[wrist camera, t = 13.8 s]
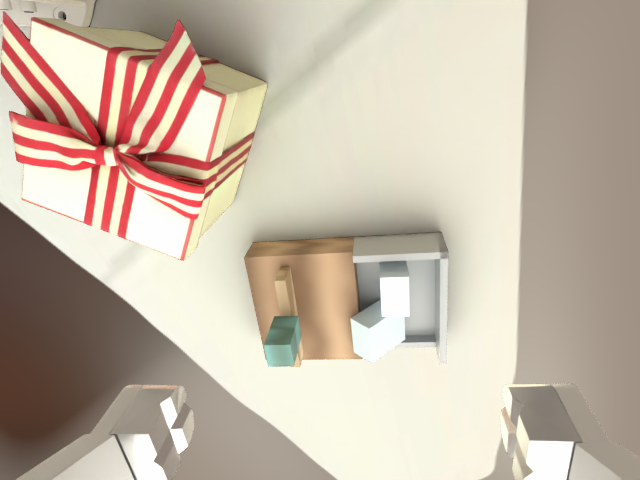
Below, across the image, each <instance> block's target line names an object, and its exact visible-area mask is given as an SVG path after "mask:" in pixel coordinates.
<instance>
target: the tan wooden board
mask: <svg viewBox="0 0 640 480" xmlns="http://www.w3.org/2000/svg"><path fill="white" fill-rule="evenodd" d="M353 247H354V237H343V238H326V239H308V240H290V241H272V242H254V243H253V244H252V245H251V247H250V249H249V250H248V252H247V254H246V255H245V257H244V260H245V264H246V269H247V274H248V278H249V283H250V288H251V292H252V297H253V302H254V306H255V311H256V316H257V320H258V325H259V330H260V334H261V339H262V344H263V348H264V343H265V340H266V337H267V335H268V332H269V329H270V326H271V323H272V321H273V318H274V316H281V314H280V308H279V303H278V298H277V292H276V287H275V278H276V276H277V274H278V271H279V269H280V267H290V269H291V275H292V281H293V287H294V293H295V299H296V306H297V312H298V317H299V323H300V329H301V335H302V342H303V348H304V352H303V356H302V360H311V359H363V358H362V357H360V356H359V355H357V354H356V353H354V349H353V339H352V329H351V319H350V318H352V317H353V316H355V315H357V314H358V313H360V312H361V310H360V299H359V288H358V276H357V265H356V263H353ZM264 353H265V349H264ZM265 358H266V354H265ZM266 360H267V359H266Z"/></svg>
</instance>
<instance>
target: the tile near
mask: <svg viewBox="0 0 640 480" xmlns="http://www.w3.org/2000/svg"><path fill="white" fill-rule="evenodd" d="M379 264H380V290H381V312H382V317H409V274H408V268H407V261H406V260H405V261H384V262H379Z"/></svg>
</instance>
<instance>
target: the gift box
mask: <svg viewBox="0 0 640 480" xmlns="http://www.w3.org/2000/svg"><path fill="white" fill-rule="evenodd" d="M1 74H2V76H3V77H4V79H5V80H6V82H7V83H8V84H9V86H10V87H11V88H12V90H13V91H14V92H15V94H16V95H17V96H18V97H19V99H20V100H21V101H22V102H23V104H24V105H25V106H26V116H24V115H20V114H18V113H15V112H13V111H9V116H10V121H11V127H12V133H13V139H14V146H15V154H16V160H17V161H18V162H20V163H23V164H24V165H23V183H22V200H24V201H27V202H29V203H32V204H35V205H37V206H40V207H43V208H46V209H48V210H51V211H54V212H56V213H59V214H61V215H64V216H67V217H69V218H72V219H75V220H77V221H80V222H83V223H85V224H87V225H90V226H93V227H96V228H98V229H101V230H103V231H106V232H109V233H111V234H114V235H116V236H119V237H121V238H124V239H127V240H130V241H133V242H135V243H138V244H140V245H143V246H146V247H148V248H151V249H154V250H156V251H159V252H161V253H164V254H166V255H169V256H172V257H174V258H177V259H180V260H183V261H185V260H186V259H187V258H188V257H189V256H190V255H191V254H192V252H193V251H194V250H195V249H196V248H197V246H198V242H199V238H200V237H201V236H202V235H203V234H204V233H205V232H206V231H207V230H208V228H209V227H210V226H211V225H212V224H213V223H214V222H215V221H216V220H217V219H218V218H219V217H220V216H221V215H222V214H223V213H224V212H225V210H226V209H227V208H228V207H229V206H230V205H231V204H232V203H233V201H234V198H235V195H236V192H237V189H238V185H239V182H240V179H241V175H242V172H243V168H244V165H245V162H246V160H247V157H248V154H249V151H250V148H251V144H252V140H253V136H254V132H255V128H256V125H257V122H258V118H259V115H260V112H261V108H262V105H263V101H264V97H265V94H266V90H267V86H268V84H267V83H266V82H264V81H262V80H260V79H257V78H255V77H253V76H250V75H248V74H245V73H243V72H240V71H238V70H235V69H233V68H230V67H228V66H226V65H223V64H220V63H219V61H217V60H215V59H211V58H206V57H203V56H200V55H198V54H197V53H196V51H195V49H194V47H193V45H192V43H191V40H190V38H189V36H188V34H187V32H186V30H185V28H184V27H183V25H182V24H181V22H180V20H177V22H176V24H175V28H174V31H173V33H172V35H171V37H170V39H169V40H168V41H164V40H162V39H160V38H157V37H154V36H152V35H149V34H146V33H144V32H141V31H138V32H137V31H129V30H117V29H105V28H94V27H79V26H74V25H72V24H70V23H67V22H65V21H63V20H60V19H55V18H43V17H31V30H30V39H28V38H27V37H26V36H25V35H24V33H23V32H22V31H21V30H20V29H19V28H18V26H17V25H16V24H15V23H14V21H13V20H12V19H11V18H10V17H9V16H8V15H7V13H6V12H5V11H3V42H2V54H1Z"/></svg>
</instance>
